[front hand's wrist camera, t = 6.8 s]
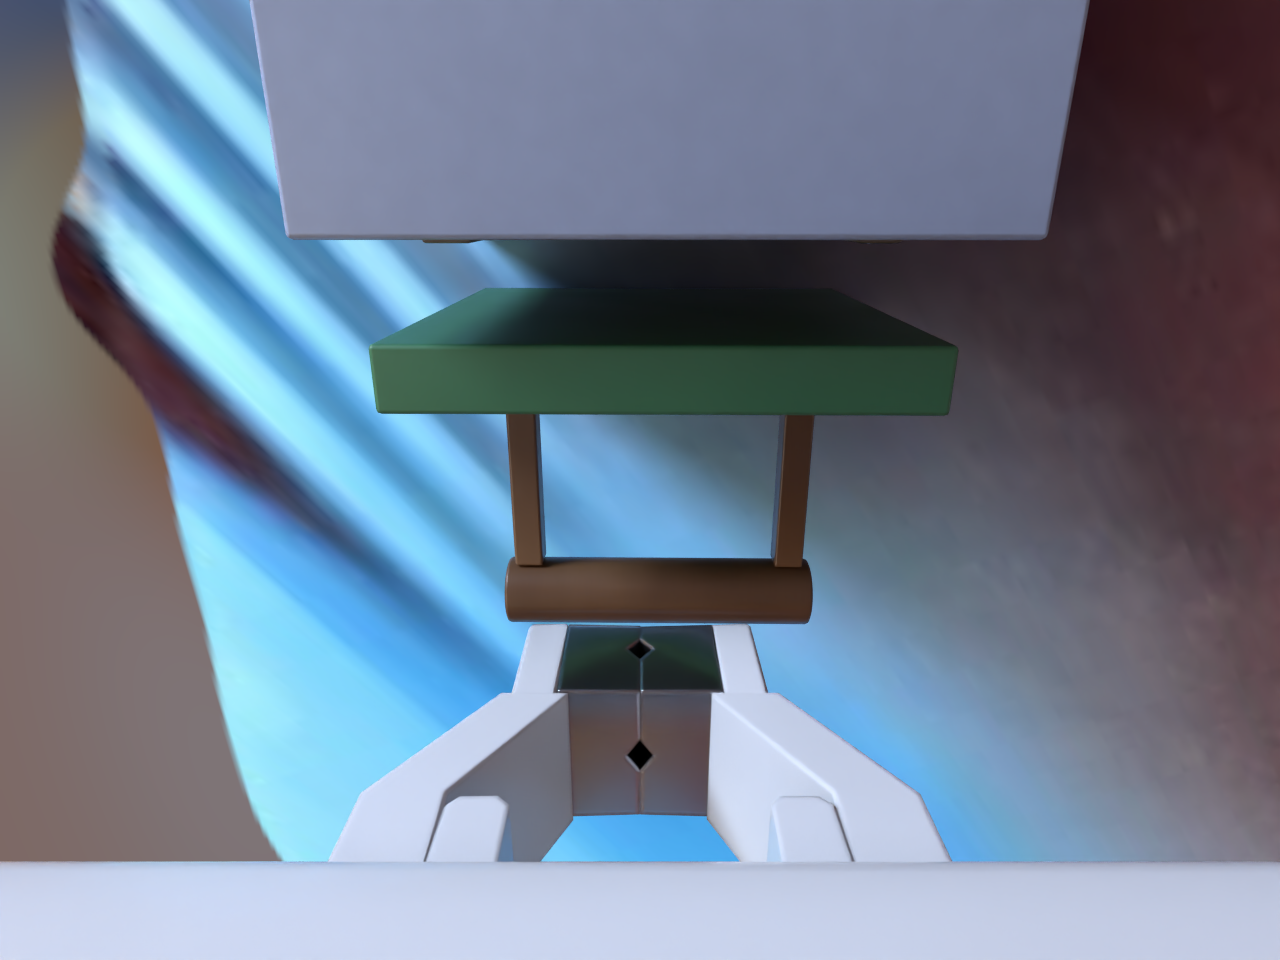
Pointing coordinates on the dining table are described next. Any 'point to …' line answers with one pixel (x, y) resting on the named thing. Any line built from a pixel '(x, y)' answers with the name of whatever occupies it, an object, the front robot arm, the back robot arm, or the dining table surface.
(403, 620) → the dining table surface
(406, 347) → the drawer
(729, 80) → the cabinet
